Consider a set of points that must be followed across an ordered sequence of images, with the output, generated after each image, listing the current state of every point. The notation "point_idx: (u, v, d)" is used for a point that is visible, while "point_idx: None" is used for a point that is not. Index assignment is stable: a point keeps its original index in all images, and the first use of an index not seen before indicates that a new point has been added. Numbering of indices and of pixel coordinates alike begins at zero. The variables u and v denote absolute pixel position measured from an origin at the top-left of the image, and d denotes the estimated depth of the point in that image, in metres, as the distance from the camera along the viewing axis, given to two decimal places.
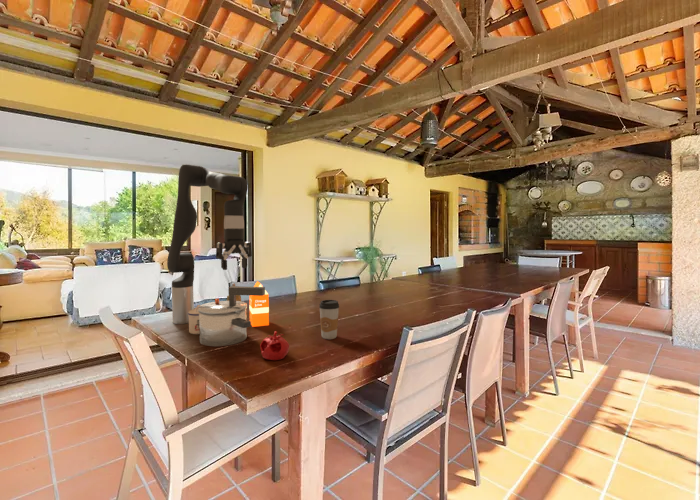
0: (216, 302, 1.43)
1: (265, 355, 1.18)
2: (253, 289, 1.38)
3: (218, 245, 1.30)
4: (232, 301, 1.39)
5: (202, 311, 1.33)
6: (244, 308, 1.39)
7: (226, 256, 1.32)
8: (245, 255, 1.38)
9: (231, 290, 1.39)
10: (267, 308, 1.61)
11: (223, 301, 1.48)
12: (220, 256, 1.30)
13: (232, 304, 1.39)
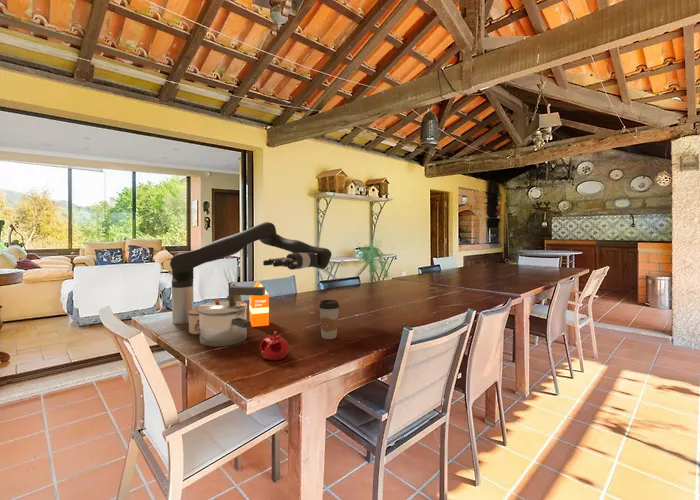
0: (216, 302, 1.43)
1: (265, 355, 1.18)
2: (253, 289, 1.38)
3: (295, 263, 1.52)
4: (232, 301, 1.39)
5: (202, 311, 1.33)
6: (244, 308, 1.39)
7: (283, 266, 1.51)
8: (273, 264, 1.55)
9: (231, 290, 1.39)
10: (267, 308, 1.61)
11: (223, 301, 1.48)
12: None
13: (232, 304, 1.39)
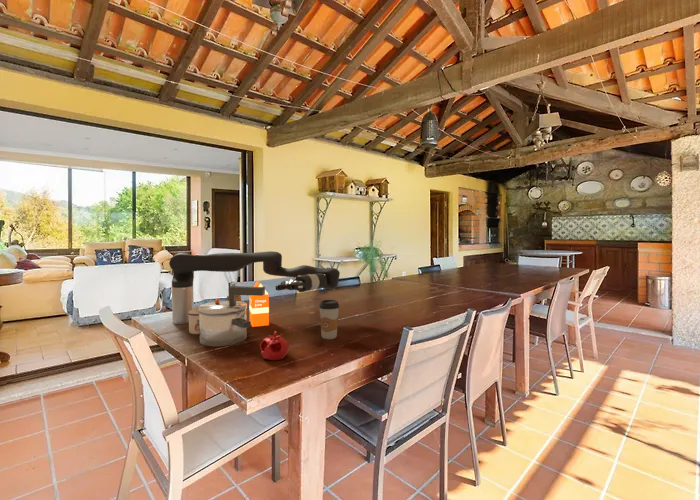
0: (216, 302, 1.43)
1: (265, 355, 1.18)
2: (253, 289, 1.38)
3: (300, 287, 1.48)
4: (232, 301, 1.39)
5: (202, 311, 1.33)
6: (244, 308, 1.39)
7: None
8: None
9: (231, 290, 1.39)
10: (267, 308, 1.61)
11: (223, 301, 1.48)
12: (290, 289, 1.47)
13: (232, 304, 1.39)
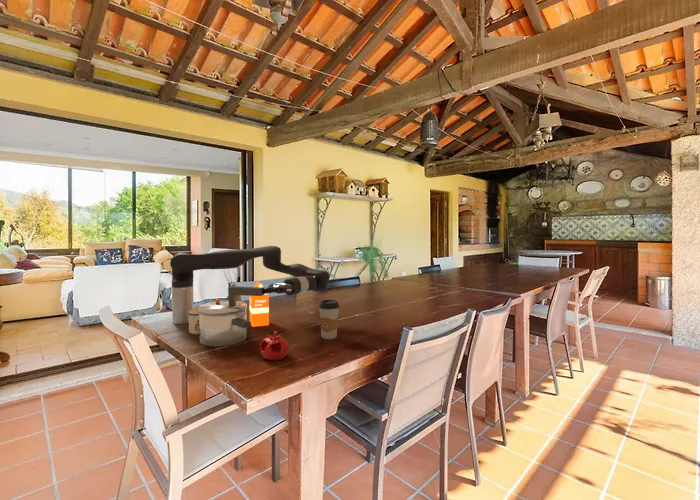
0: (216, 302, 1.44)
1: (265, 355, 1.18)
2: (253, 290, 1.37)
3: (289, 290, 1.43)
4: (232, 301, 1.39)
5: (201, 311, 1.33)
6: (243, 308, 1.39)
7: None
8: None
9: (230, 290, 1.38)
10: (267, 308, 1.61)
11: (224, 301, 1.49)
12: (278, 293, 1.42)
13: (232, 304, 1.39)
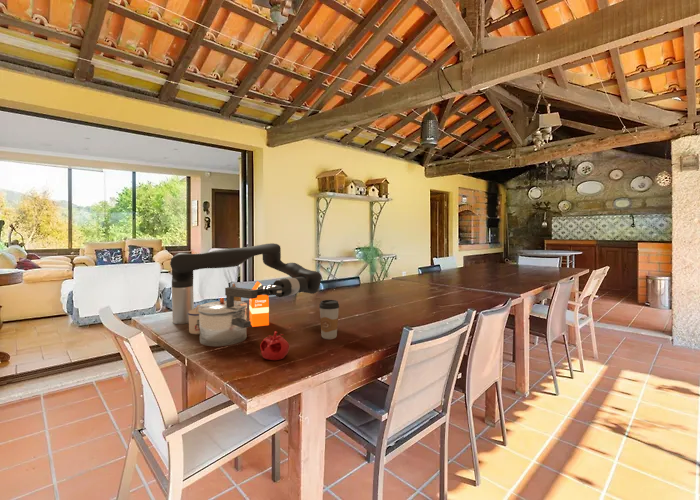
0: (220, 301, 1.45)
1: (265, 355, 1.18)
2: (244, 292, 1.33)
3: (279, 292, 1.38)
4: (228, 302, 1.38)
5: (198, 309, 1.36)
6: (238, 310, 1.36)
7: None
8: None
9: (227, 290, 1.37)
10: (267, 308, 1.61)
11: None
12: (268, 295, 1.38)
13: (228, 305, 1.38)
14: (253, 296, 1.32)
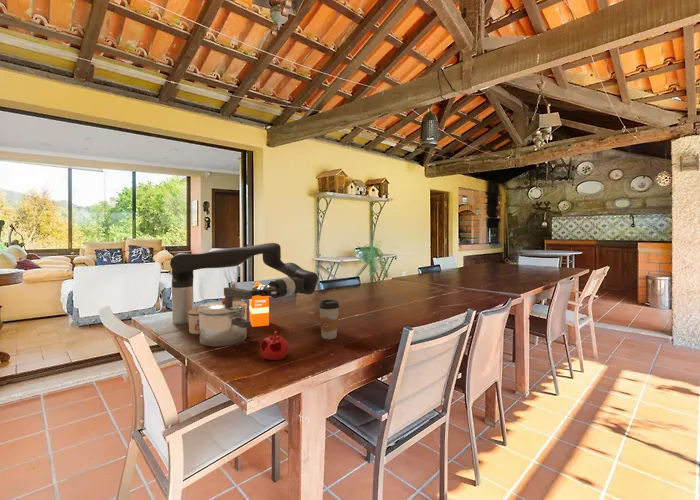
0: (222, 301, 1.45)
1: (265, 355, 1.18)
2: (239, 292, 1.31)
3: (273, 293, 1.36)
4: (227, 302, 1.37)
5: (198, 309, 1.37)
6: (235, 311, 1.35)
7: None
8: None
9: (225, 290, 1.37)
10: (267, 308, 1.61)
11: (234, 301, 1.49)
12: (262, 295, 1.36)
13: (227, 305, 1.37)
14: (247, 297, 1.30)
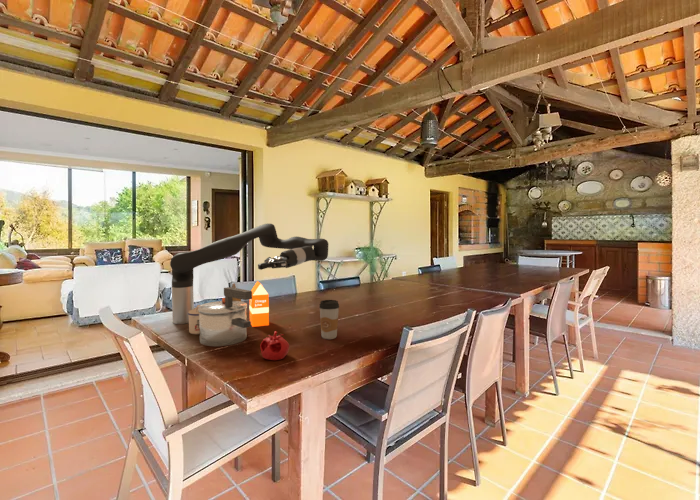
0: (222, 301, 1.45)
1: (265, 355, 1.18)
2: (239, 292, 1.31)
3: (283, 265, 1.44)
4: (227, 302, 1.37)
5: (198, 309, 1.37)
6: (235, 311, 1.35)
7: None
8: None
9: (225, 290, 1.37)
10: (267, 308, 1.61)
11: (234, 301, 1.49)
12: None
13: (227, 305, 1.37)
14: (247, 297, 1.30)
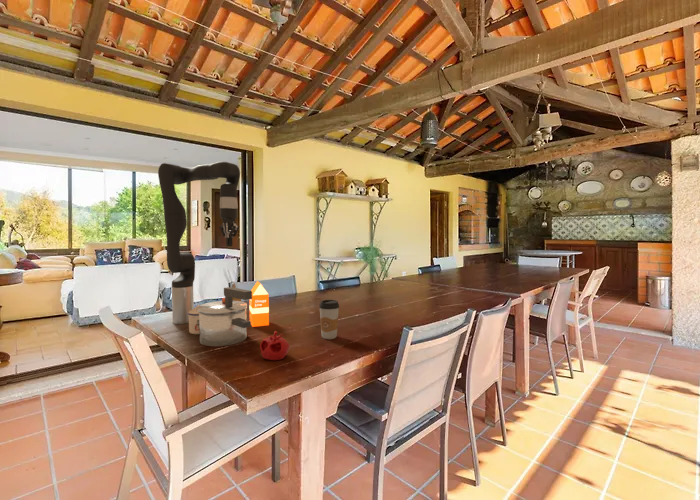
0: (222, 301, 1.45)
1: (265, 355, 1.18)
2: (239, 292, 1.31)
3: (236, 228, 1.52)
4: (227, 302, 1.37)
5: (198, 309, 1.37)
6: (235, 311, 1.35)
7: None
8: None
9: (225, 290, 1.37)
10: (267, 308, 1.61)
11: (234, 301, 1.49)
12: None
13: (227, 305, 1.37)
14: (247, 297, 1.30)
